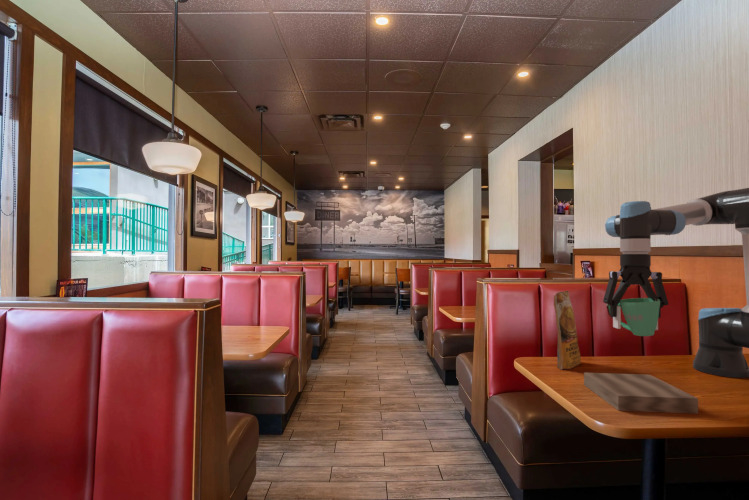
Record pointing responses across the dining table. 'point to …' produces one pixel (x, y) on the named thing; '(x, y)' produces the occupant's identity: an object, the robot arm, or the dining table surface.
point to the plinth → (640, 393)
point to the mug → (639, 315)
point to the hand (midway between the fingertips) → (635, 328)
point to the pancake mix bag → (566, 332)
